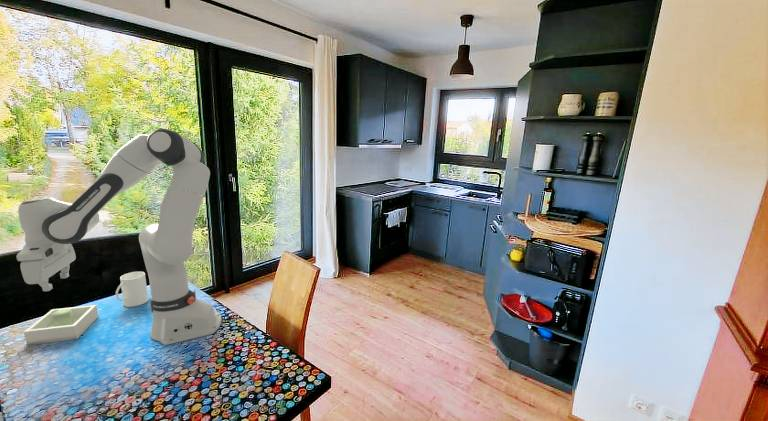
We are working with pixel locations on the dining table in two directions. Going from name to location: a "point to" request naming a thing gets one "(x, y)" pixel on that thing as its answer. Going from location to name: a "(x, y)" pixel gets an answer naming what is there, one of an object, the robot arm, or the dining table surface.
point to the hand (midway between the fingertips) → (57, 283)
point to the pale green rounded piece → (62, 317)
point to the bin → (48, 333)
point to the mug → (133, 289)
